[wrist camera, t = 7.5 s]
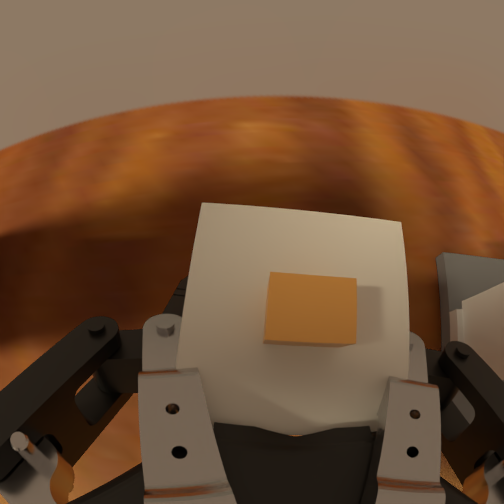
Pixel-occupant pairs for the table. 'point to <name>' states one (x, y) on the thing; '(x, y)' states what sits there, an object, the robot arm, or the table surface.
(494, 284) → the rail board
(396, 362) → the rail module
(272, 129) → the table surface
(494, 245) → the table surface
